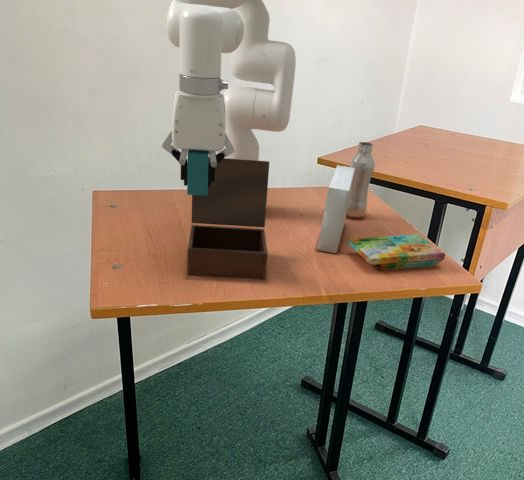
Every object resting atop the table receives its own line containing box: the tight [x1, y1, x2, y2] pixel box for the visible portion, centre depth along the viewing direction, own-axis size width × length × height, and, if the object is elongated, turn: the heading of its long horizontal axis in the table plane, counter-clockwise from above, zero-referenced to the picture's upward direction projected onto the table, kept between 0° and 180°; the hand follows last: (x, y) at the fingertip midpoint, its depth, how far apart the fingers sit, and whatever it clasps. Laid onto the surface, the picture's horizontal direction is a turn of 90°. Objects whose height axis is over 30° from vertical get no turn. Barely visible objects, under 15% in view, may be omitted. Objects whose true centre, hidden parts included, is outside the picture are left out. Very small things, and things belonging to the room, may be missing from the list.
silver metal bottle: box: [346, 141, 376, 218], centre depth 161 cm, size 6×7×20 cm
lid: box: [190, 157, 270, 228], centre depth 132 cm, size 14×17×5 cm
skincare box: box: [316, 164, 355, 254], centre depth 147 cm, size 21×5×16 cm, turn 168°
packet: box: [186, 150, 209, 196], centre depth 116 cm, size 6×4×8 cm
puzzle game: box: [346, 233, 447, 271], centre depth 141 cm, size 12×5×20 cm
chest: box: [187, 224, 268, 280], centre depth 130 cm, size 14×17×7 cm
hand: (197, 183), depth 118 cm, fingers closed on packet, 4 cm apart
